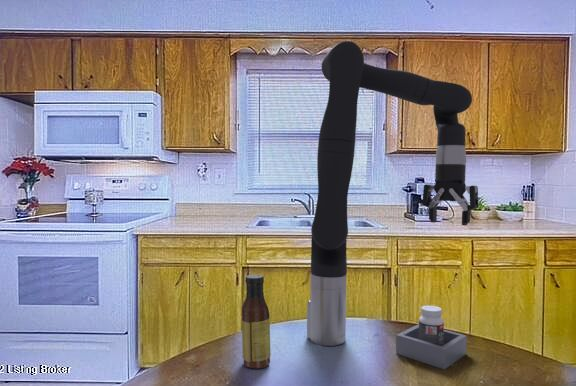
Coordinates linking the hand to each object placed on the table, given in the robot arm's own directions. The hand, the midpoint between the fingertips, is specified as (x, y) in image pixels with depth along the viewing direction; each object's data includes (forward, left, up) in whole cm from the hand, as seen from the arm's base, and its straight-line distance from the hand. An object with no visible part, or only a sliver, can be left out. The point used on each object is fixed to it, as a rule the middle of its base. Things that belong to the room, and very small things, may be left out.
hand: (448, 223), depth 114 cm
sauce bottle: (-22, -49, -30) cm, 62 cm away
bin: (+3, -15, -30) cm, 34 cm away
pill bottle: (+3, -15, -29) cm, 33 cm away
